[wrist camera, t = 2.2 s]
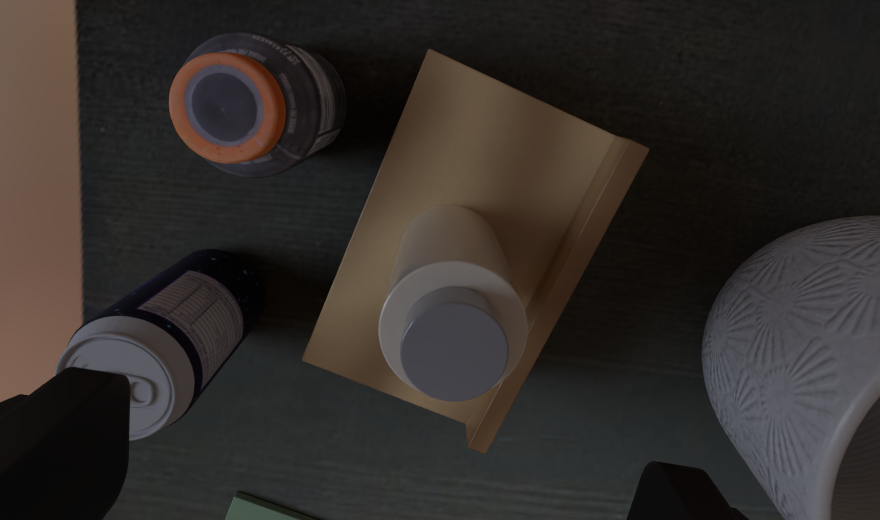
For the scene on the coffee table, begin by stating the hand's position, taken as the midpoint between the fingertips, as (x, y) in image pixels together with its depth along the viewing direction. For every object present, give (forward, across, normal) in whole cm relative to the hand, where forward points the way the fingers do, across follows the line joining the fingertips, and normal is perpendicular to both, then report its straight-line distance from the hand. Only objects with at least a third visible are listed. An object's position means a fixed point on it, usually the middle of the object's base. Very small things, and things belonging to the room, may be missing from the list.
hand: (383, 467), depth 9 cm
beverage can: (+25, +11, +8) cm, 29 cm away
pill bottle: (+25, +8, -4) cm, 27 cm away
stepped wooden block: (+25, -2, +2) cm, 25 cm away
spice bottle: (+18, -2, +2) cm, 18 cm away
